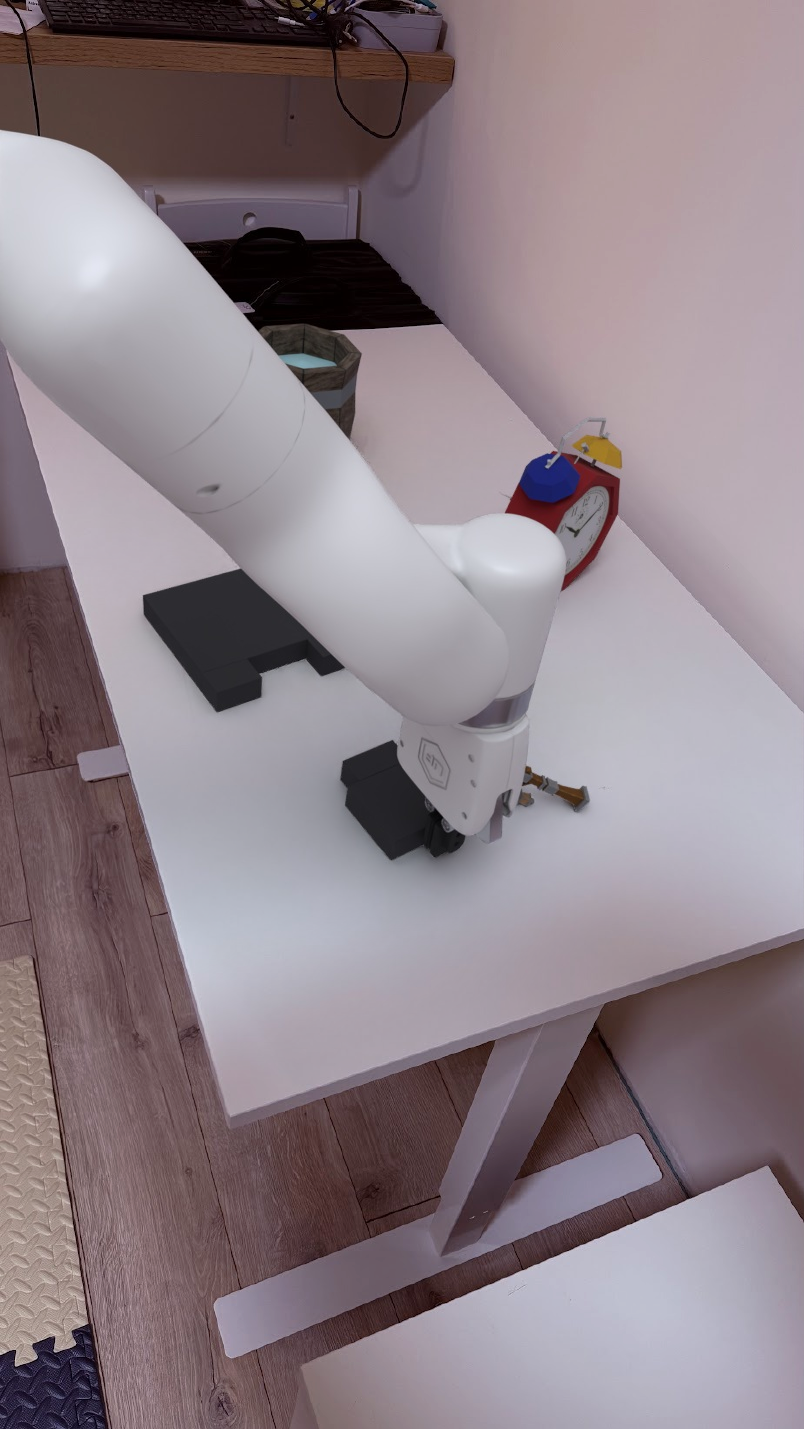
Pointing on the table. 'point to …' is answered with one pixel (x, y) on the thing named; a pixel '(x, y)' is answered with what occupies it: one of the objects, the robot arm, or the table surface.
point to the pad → (385, 799)
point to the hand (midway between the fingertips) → (442, 844)
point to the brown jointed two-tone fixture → (553, 790)
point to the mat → (231, 635)
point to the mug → (320, 366)
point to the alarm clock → (572, 497)
